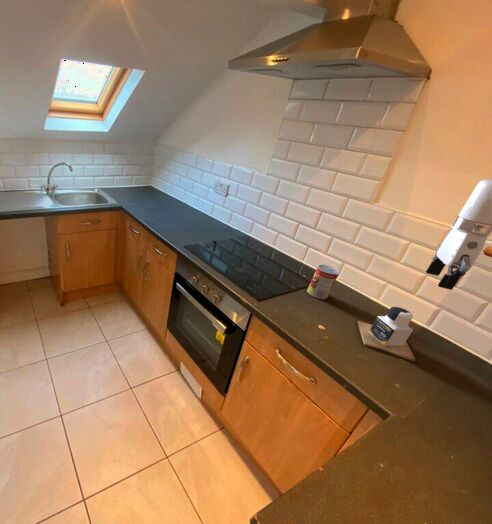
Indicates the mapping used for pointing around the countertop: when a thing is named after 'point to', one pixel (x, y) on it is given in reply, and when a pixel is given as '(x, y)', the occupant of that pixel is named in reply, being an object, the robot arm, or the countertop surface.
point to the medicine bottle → (392, 327)
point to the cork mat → (374, 343)
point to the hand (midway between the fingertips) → (437, 280)
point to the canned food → (322, 281)
